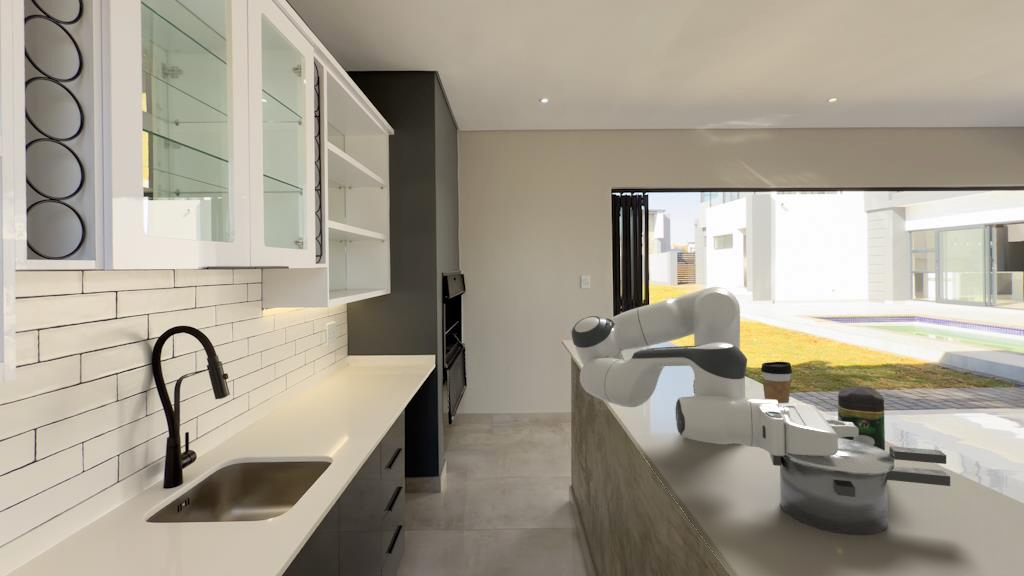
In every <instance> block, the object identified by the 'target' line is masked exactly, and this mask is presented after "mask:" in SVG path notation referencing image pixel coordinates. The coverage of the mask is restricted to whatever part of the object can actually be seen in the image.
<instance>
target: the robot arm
mask: <svg viewBox="0 0 1024 576" xmlns="http://www.w3.org/2000/svg"><path fill="white" fill-rule="evenodd" d="M692 335H693V338H694V339H693V340H694V345H683V346H665V347H653V348H646V347H650V346H651V347H652V346H655V345H659V344H662V343H664V344H665V343H667V342H671V341H675V340H679V339H682V338H687V337H690V336H692ZM571 339H572V340H571V341H572V342H573V345H574V346H575V349H576V352H577V354H578V355H577V356H578V358H579V360H580V363H581V364H582V368H581V369H580V370H581V371H580V372H579V373H580V374H579V381H580V385H581V386H582V388H583V389H584V391H585V392H586V393H588V394H590V395H591V396H594V397H595V398H597V399H600V400H602V401H604V402H607V403H610V404H614V405H616V406H621V407H626V408H636V407H639V406H642V405H643V404H645V403H646V402H647V401H648V400H649V399H650V398H651V397H652V395H653V394H654V392H655V391H656V389H657V385H658V382H659V379H660V375H661V373H662V371H663V369H664V368H665V367H687V366H688V367H691V369H692V371H693V374H694V375H693V376H694V378H693V385H692V386H693V393H694V394H693V395H691V396H682V397H678V398H677V401H676V403H675V420H676V421H675V423H676V428H677V431H678V433H679V435H680V436H681V437H682V438H685V439H689V440H693V441H696V442H697V441H698V442H702V443H708V444H709V443H710V444H717V445H730V444H740V445H744V446H747V447H751V448H752V447H753V448H759V449H762V450H763V451H764V450H765V452H768V453H769V455H770V454H772V455H775V456H784V455H785V451H786V452H787V453H790V454H796V455H812V456H830V455H835V454H837V453H838V438H841V437H858V435H859V429H858V428H857V427H856V426H855V425H854V423H852V422H842V421H839V420H838V419H833V418H831V417H828V418H827V417H825V416H823V414H822V413H821V411H820V410H819V408H817V406H815V405H814V404H809V403H796V402H795V403H792V402H791V403H778V401H777V400H776V399H765V398H757V397H746V377H747V366H748V358H747V357H746V356H745V354H744V353H743V352H742V350H741V349H740V346H741V344H740V343H741V342H740V341H741V306H740V303H739V301H738V298H737V297H736V296H735V295H734V294H733V293H732V292H731V291H730V290H728V289H726V288H723V287H719V286H712V287H708V288H705V289H704V288H703V289H701V290H697V291H693V292H689V293H686V294H683V295H679V296H675V297H672V298H668V299H665V300H660V301H658V302H653V303H651V304H647V305H644V306H643V305H642V306H639V307H635V308H632V309H629V310H626V311H624V312H620V313H619V314H617V315H615V316H613V317H611V318H607V317H606V318H605V317H602V316H594V315H592V316H587V317H585V318H582V319H580V320H578V322H576V323H575V324H574V326H573V327H572V329H571ZM639 348H646V349H640V350H638V351H635V352H634V353H633V354H632V355H631V358H630V359H624V355H623V351H625V350H635V349H639Z"/></svg>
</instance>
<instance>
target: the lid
mask: <svg viewBox="0 0 1024 576" xmlns="http://www.w3.org/2000/svg"><path fill="white" fill-rule="evenodd" d="M888 447H889V450H888V451H889V452H888V451H887V450H885V451H884V450H882V449H880V448H878V447H875V446H872V445H869V444H866V443H862V442H858V441H854V440H849V439H843V438H838V453H837V454H835V455H830V456H812V455H796V454H790V453H787V452H786V451H785V455H784V456H785V457H786V458H788V459H790V460H792V461H794V462H796V463H799V464H801V465H804V466H807V467H811V468H815V469H819V470H823V471H828V472H834V473H842V474H852V475H876V474H882V473H887V472H889V471H891V470H893V468H894V466H895V460H899V461H907V462H909V461H910V462H919V463H920V462H921V463H932V464H943V465H946V464H947V455H946V453H944V452H942V451H941V450H939V449H930V448H929V449H927V448H916V447H906V446H905V447H903V446H888Z"/></svg>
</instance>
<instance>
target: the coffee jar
mask: <svg viewBox="0 0 1024 576" xmlns="http://www.w3.org/2000/svg"><path fill="white" fill-rule="evenodd" d="M838 391H839V392H838V396H837V397H838V398H837V399H838V400H837V420H839V421H842V422H852V423H854V425H855V426H856V427H857V428H858V429H859V435H858V437H841V438H843V439H849V440H854V441H858V442H862V443H866V444H869V445H872V446H875V447H878V448H880V449H882V450H884V451H886V438H885V435H886V433H885V430H886V429H885V399H884V397H883V395H882V394H881V393H880V392H878V391H877V390H875V389H874V388H872V387H871V386H870V387H869V386H859V385H848V386H847V387H844V388H842V389H840V390H838Z"/></svg>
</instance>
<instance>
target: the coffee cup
mask: <svg viewBox="0 0 1024 576" xmlns="http://www.w3.org/2000/svg"><path fill="white" fill-rule="evenodd" d="M760 372H762V384H763V385H762V386H763V394H764V399H776V400H777V401H778V403H789V402H790V396H791V395H790V393H791V382H792V379H791V376H792V375H791V374H792V373H793V370H792V365H791V363H790V362H787V361H770V362H763V363H762V364H761V368H760Z"/></svg>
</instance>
